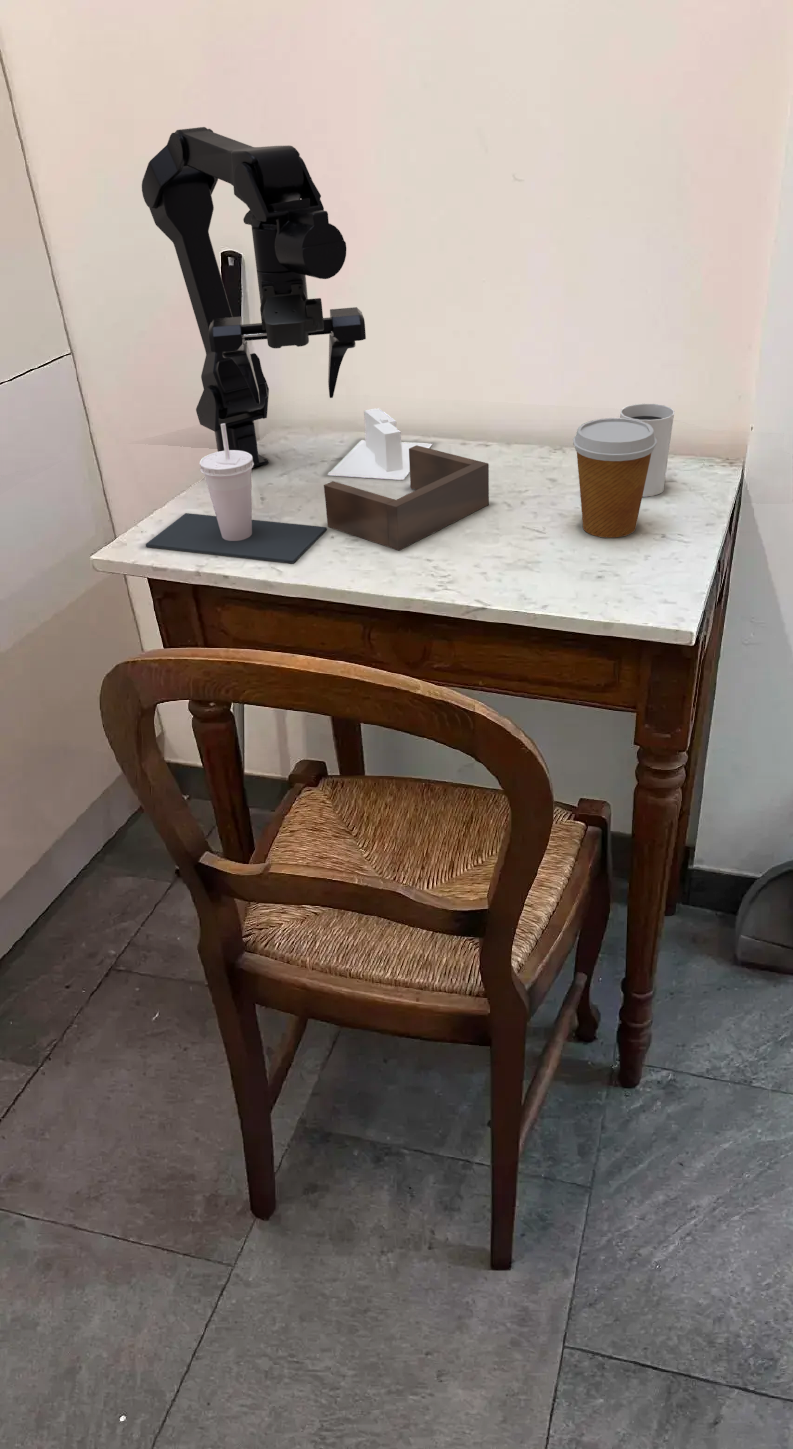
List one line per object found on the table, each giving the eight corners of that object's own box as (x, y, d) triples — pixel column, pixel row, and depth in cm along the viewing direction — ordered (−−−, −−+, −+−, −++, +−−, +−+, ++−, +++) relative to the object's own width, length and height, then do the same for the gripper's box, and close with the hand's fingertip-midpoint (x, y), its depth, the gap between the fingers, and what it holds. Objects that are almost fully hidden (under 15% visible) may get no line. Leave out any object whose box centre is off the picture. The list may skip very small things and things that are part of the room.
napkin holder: (360, 439, 160) (357, 401, 157) (433, 443, 157) (431, 404, 154) (326, 475, 148) (322, 435, 145) (404, 480, 145) (402, 439, 142)
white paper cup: (645, 502, 134) (652, 424, 129) (604, 489, 138) (608, 413, 133) (678, 487, 138) (685, 410, 132) (636, 475, 142) (642, 400, 136)
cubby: (327, 526, 133) (323, 484, 130) (418, 484, 143) (416, 445, 140) (399, 550, 126) (396, 507, 123) (489, 504, 136) (488, 463, 133)
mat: (145, 547, 131) (145, 544, 131) (186, 515, 138) (185, 513, 138) (293, 563, 124) (293, 560, 124) (326, 530, 132) (326, 527, 132)
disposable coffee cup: (631, 549, 123) (639, 448, 116) (556, 535, 127) (559, 437, 121) (661, 519, 129) (670, 422, 123) (588, 507, 134) (593, 412, 127)
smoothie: (226, 550, 128) (208, 436, 120) (201, 534, 132) (183, 423, 124) (272, 535, 131) (258, 423, 123) (247, 519, 135) (231, 410, 127)
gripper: (198, 288, 118) (218, 426, 127) (364, 275, 119) (374, 413, 128) (202, 269, 128) (221, 399, 136) (357, 257, 129) (366, 387, 137)
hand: (294, 400), depth 134 cm, fingers open, 9 cm apart
